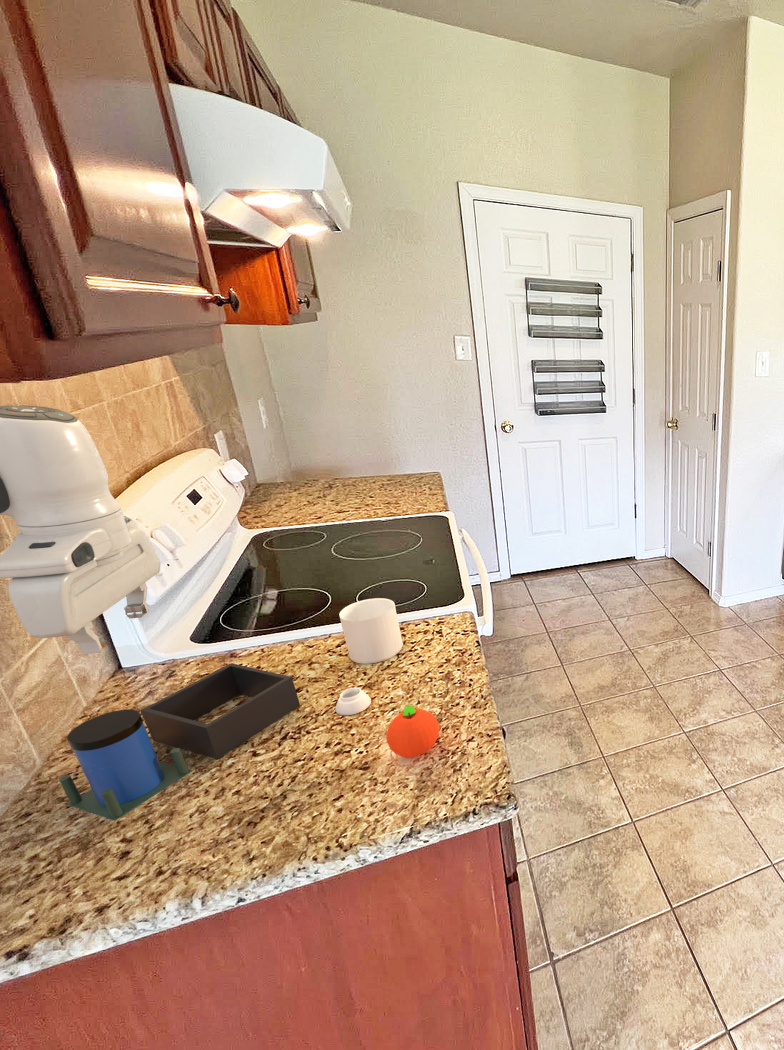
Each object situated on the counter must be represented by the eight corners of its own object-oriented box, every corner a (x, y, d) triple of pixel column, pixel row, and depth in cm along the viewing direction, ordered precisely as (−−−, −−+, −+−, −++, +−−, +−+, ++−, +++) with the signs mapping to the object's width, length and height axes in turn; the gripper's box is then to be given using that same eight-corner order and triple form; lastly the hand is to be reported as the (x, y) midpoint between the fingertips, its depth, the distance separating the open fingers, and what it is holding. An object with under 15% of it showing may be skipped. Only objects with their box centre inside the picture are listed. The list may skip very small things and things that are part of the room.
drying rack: (68, 809, 74) (53, 780, 73) (149, 762, 83) (137, 734, 81) (117, 826, 72) (103, 796, 71) (195, 775, 80) (184, 747, 79)
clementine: (388, 741, 88) (379, 703, 85) (437, 726, 91) (430, 689, 89) (393, 774, 82) (384, 734, 79) (445, 756, 85) (438, 717, 83)
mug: (402, 658, 109) (393, 615, 105) (346, 668, 105) (335, 624, 102) (405, 629, 119) (397, 589, 116) (354, 637, 115) (345, 596, 112)
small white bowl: (378, 702, 97) (356, 695, 98) (375, 687, 95) (352, 681, 97) (352, 720, 92) (329, 713, 94) (348, 705, 91) (325, 698, 93)
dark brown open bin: (155, 746, 86) (139, 710, 83) (242, 695, 97) (231, 662, 95) (219, 764, 83) (205, 727, 80) (301, 710, 94) (291, 676, 92)
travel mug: (84, 799, 75) (53, 737, 71) (143, 764, 81) (117, 705, 77) (119, 811, 73) (89, 748, 70) (177, 774, 79) (152, 714, 76)
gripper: (101, 513, 80) (135, 600, 85) (-21, 571, 62) (31, 678, 67) (156, 509, 82) (186, 595, 87) (54, 565, 64) (100, 669, 69)
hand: (118, 632), depth 77 cm, fingers open, 8 cm apart
